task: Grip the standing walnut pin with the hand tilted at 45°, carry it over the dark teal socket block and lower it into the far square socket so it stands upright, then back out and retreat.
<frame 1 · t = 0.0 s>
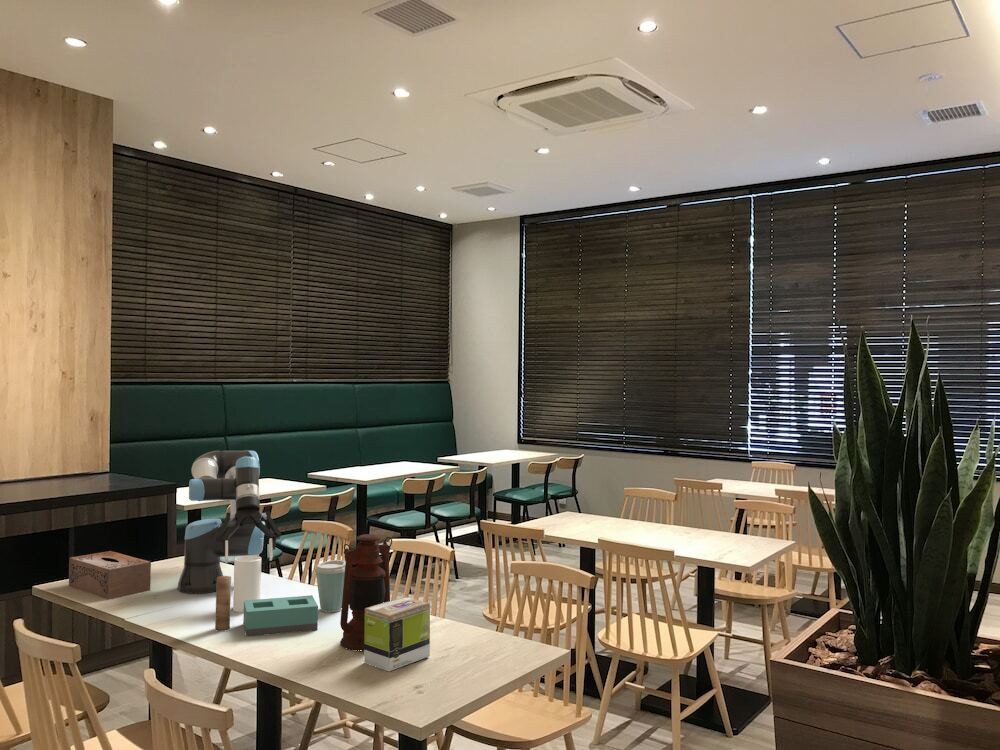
hand: (249, 560, 250), 15 cm above the table, tool tilted 35°, fingers open, 13 cm apart
disposable coffee cup: (330, 610, 250), on the table
tea box: (396, 661, 207), on the table
lantern: (365, 643, 220), on the table
walnut pin: (222, 628, 229), on the table
tissue box cover: (109, 589, 268), on the table
cup: (246, 609, 249), on the table
socket block: (280, 626, 232), on the table
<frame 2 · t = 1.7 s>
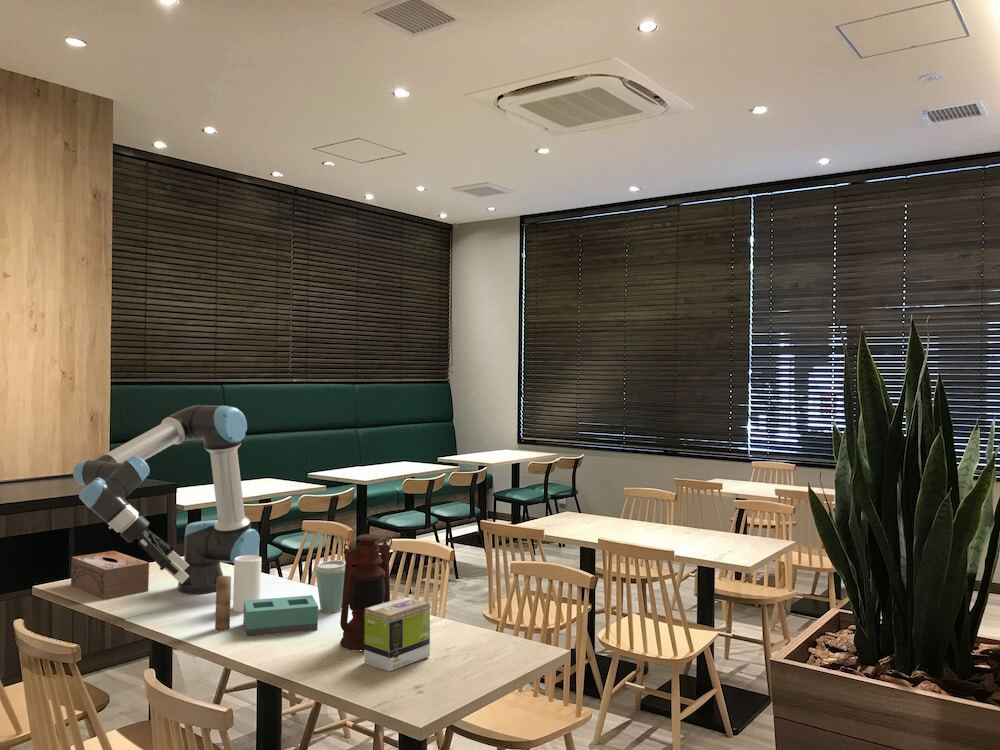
hand: (185, 574, 225), 17 cm above the table, tool tilted 45°, fingers open, 13 cm apart
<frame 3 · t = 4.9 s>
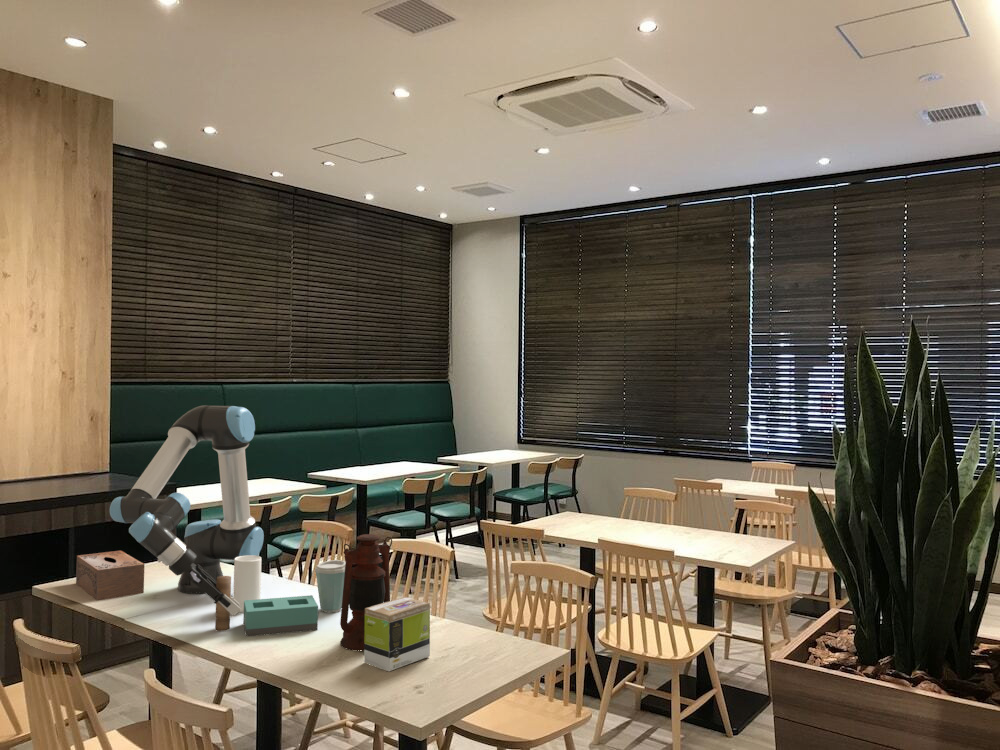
hand: (236, 609, 230), 5 cm above the table, tool tilted 45°, fingers closed on walnut pin, 4 cm apart
walnut pin: (222, 628, 229), on the table, touching gripper
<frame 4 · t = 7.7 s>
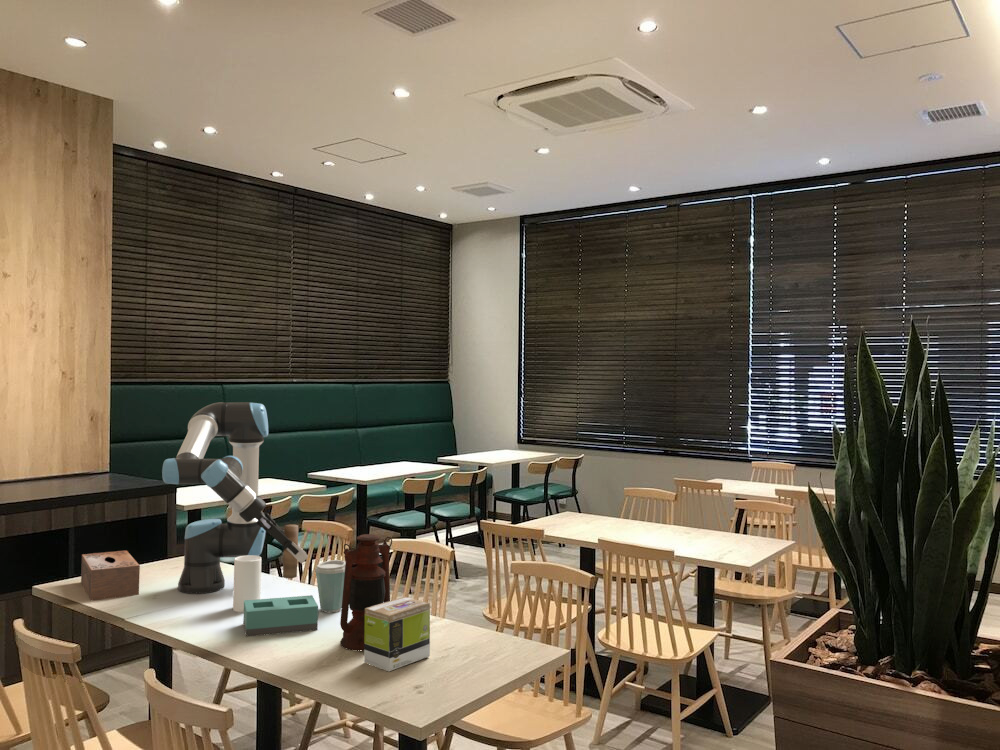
hand: (303, 558, 234), 20 cm above the table, tool tilted 45°, fingers closed on walnut pin, 4 cm apart
walnut pin: (289, 576, 232), point 15 cm above the table, touching gripper
when the fingers open (9 cm above the table, at t = 10.4 s): walnut pin drops 1 cm, resting on socket block.
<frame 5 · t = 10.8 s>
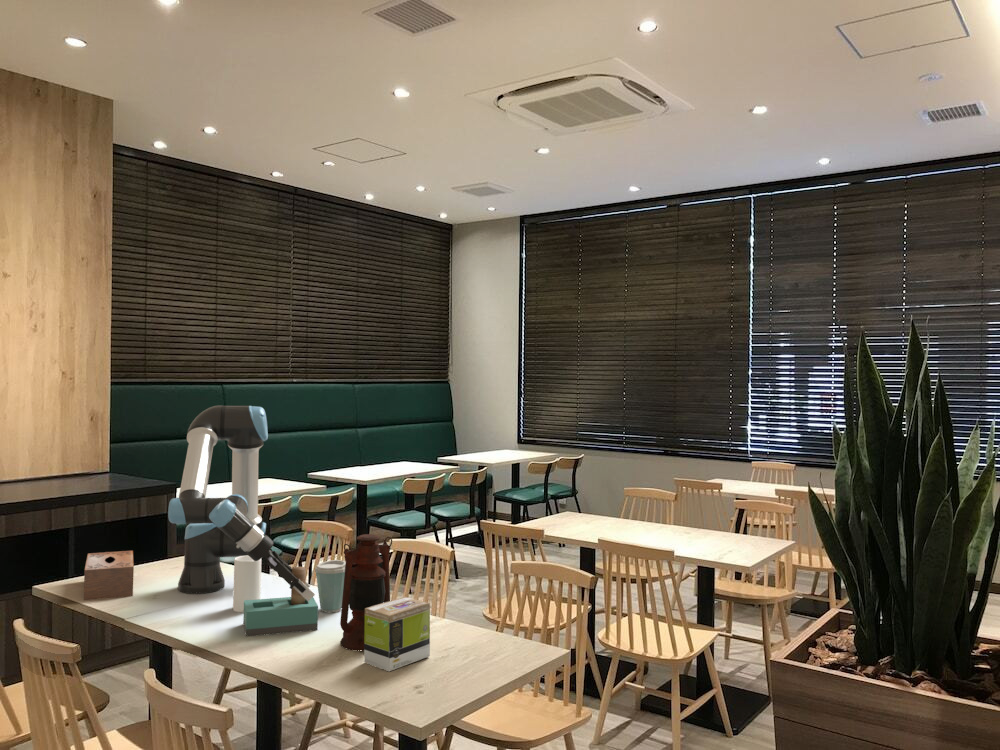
hand: (309, 593, 235), 9 cm above the table, tool tilted 45°, fingers open, 9 cm apart
walnut pin: (297, 618, 234), point 2 cm above the table, touching socket block
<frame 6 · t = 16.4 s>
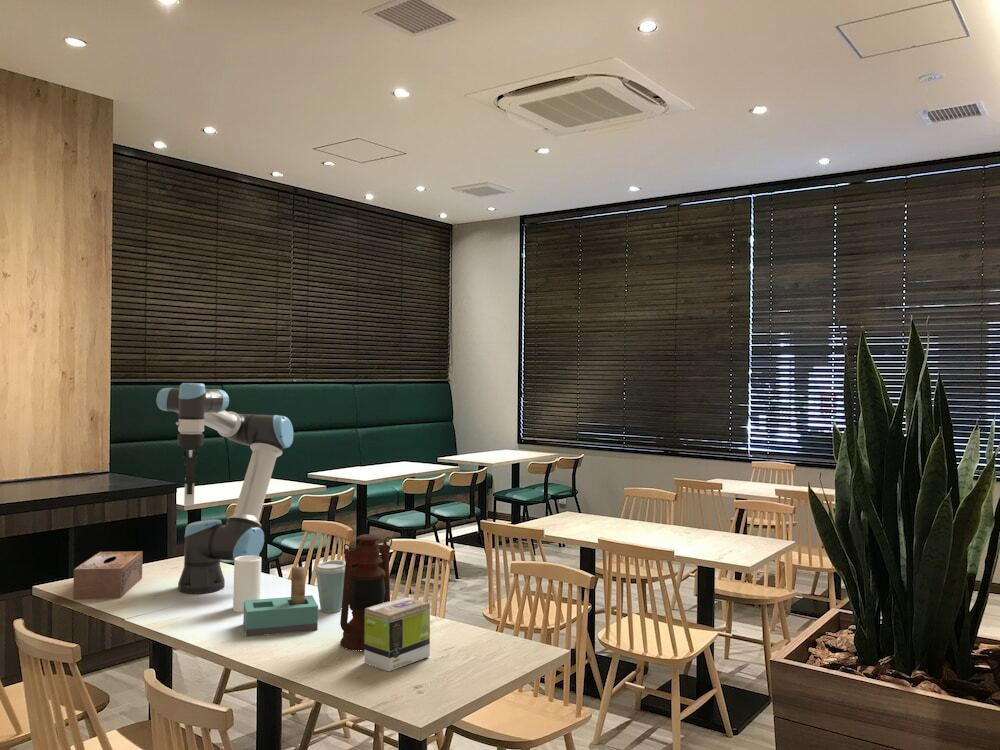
hand: (189, 501, 242), 35 cm above the table, tool pointing down, fingers open, 13 cm apart
at the end: walnut pin 0.1 cm from the target spot on the socket block, point 2.0 cm above the socket block's base; walnut pin tilted 0°; the gripper is holding nothing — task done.
